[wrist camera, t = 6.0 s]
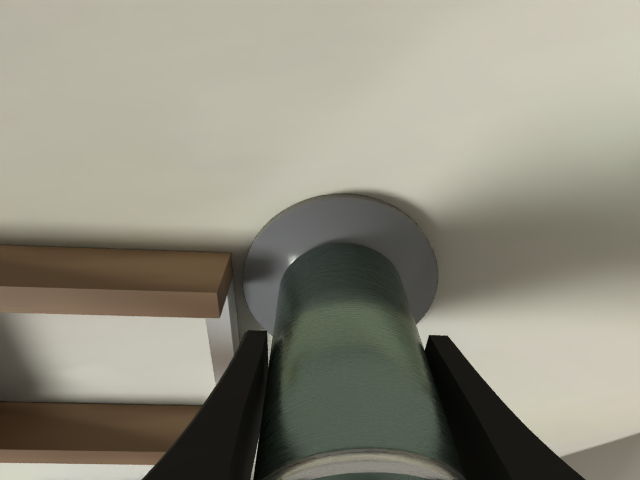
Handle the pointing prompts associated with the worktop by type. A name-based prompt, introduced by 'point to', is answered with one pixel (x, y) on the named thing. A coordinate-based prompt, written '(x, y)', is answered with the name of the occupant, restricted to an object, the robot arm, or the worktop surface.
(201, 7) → the worktop surface
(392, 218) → the coaster
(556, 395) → the worktop surface
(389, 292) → the tin can
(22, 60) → the worktop surface
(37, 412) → the frame
